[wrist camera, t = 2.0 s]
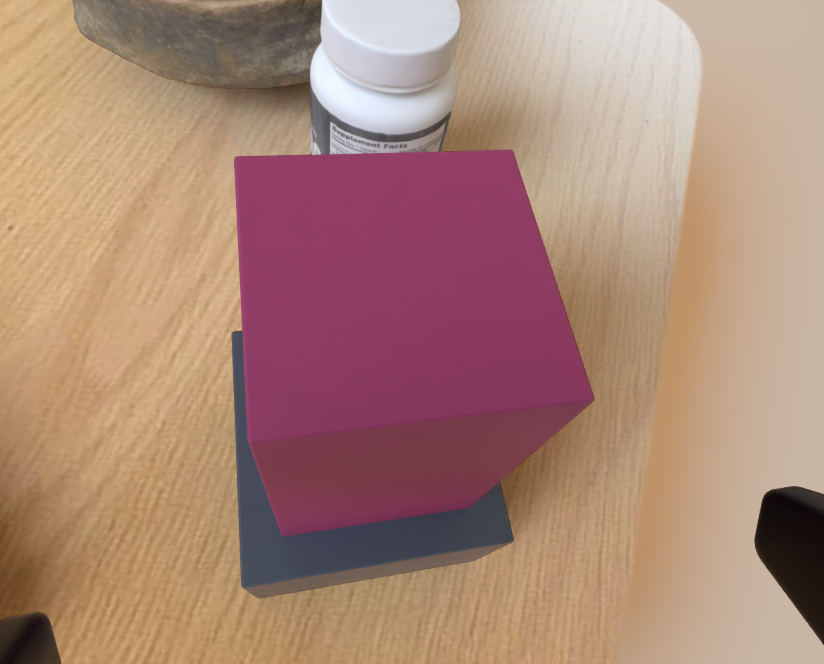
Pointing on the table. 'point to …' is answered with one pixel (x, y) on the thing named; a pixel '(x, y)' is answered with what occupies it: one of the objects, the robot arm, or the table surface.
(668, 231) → the table surface
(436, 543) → the slate block
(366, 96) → the pill bottle
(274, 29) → the bowl
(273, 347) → the mulberry block
